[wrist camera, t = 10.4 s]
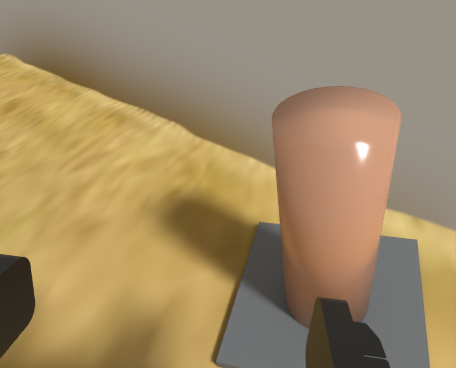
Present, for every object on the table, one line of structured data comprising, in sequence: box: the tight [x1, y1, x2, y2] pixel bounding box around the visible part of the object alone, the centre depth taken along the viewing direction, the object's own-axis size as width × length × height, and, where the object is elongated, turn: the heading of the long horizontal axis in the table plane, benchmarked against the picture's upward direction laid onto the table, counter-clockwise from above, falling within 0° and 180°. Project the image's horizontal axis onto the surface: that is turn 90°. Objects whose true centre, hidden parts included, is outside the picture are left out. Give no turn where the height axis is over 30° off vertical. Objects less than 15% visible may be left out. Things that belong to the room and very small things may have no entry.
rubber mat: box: [216, 222, 430, 368], centre depth 26 cm, size 12×12×1 cm
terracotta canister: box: [272, 86, 401, 329], centre depth 21 cm, size 5×5×14 cm
